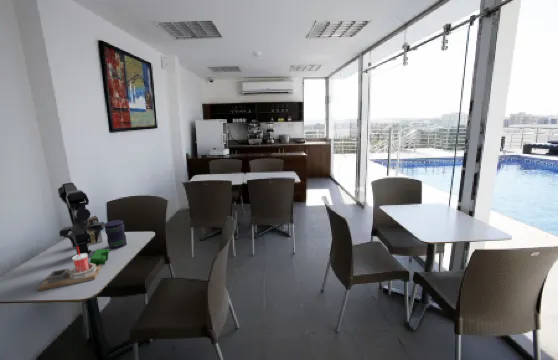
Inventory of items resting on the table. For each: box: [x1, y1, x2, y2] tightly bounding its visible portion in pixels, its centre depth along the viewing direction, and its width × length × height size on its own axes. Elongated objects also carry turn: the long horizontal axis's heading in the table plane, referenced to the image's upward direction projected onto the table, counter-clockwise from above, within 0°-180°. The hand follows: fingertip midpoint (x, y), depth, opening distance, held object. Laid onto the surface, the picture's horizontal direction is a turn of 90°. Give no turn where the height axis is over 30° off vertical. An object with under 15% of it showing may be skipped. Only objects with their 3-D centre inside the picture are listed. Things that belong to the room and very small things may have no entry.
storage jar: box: [104, 219, 128, 250], centre depth 165 cm, size 10×10×15 cm
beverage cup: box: [72, 246, 89, 273], centre depth 132 cm, size 6×6×14 cm
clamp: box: [89, 248, 110, 265], centre depth 146 cm, size 12×6×9 cm, turn 12°
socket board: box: [37, 262, 102, 291], centre depth 132 cm, size 12×22×4 cm, turn 110°
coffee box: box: [87, 215, 104, 247], centre depth 172 cm, size 9×6×16 cm
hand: (86, 244), depth 142 cm, fingers open, 9 cm apart
